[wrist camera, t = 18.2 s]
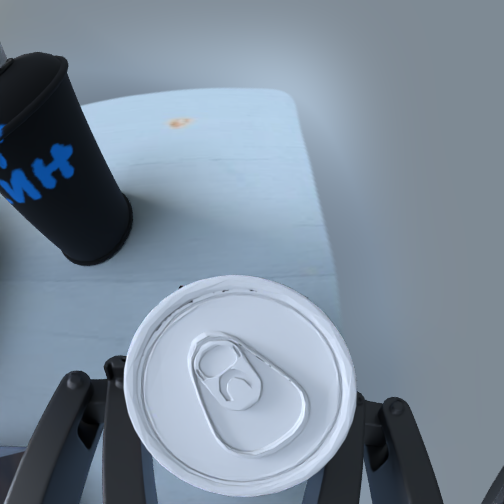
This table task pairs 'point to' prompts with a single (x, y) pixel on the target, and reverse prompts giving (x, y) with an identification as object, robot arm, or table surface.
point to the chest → (8, 467)
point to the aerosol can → (57, 161)
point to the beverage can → (240, 386)
